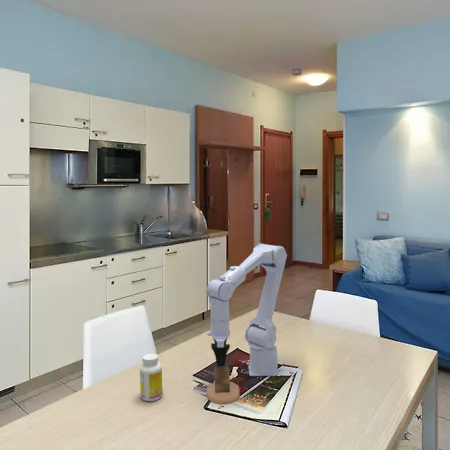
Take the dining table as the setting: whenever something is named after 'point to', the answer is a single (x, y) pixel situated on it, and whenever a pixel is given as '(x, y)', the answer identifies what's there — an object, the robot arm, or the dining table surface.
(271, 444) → the dining table surface
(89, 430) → the dining table surface
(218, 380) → the walnut block
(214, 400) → the tan round disc
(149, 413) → the dining table surface
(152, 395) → the supplement bottle
